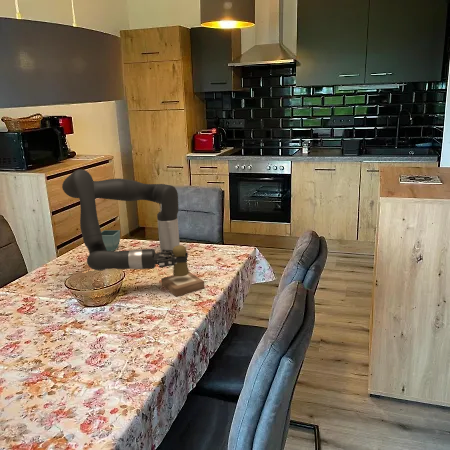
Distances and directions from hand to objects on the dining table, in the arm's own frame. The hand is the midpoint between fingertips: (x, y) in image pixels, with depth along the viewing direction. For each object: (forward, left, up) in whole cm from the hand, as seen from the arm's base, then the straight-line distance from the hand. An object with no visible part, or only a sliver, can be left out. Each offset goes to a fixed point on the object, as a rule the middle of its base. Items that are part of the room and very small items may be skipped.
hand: (187, 257), depth 167 cm
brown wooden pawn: (-1, -2, -7) cm, 7 cm away
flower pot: (-65, -10, -12) cm, 67 cm away
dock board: (-1, -2, -12) cm, 13 cm away
